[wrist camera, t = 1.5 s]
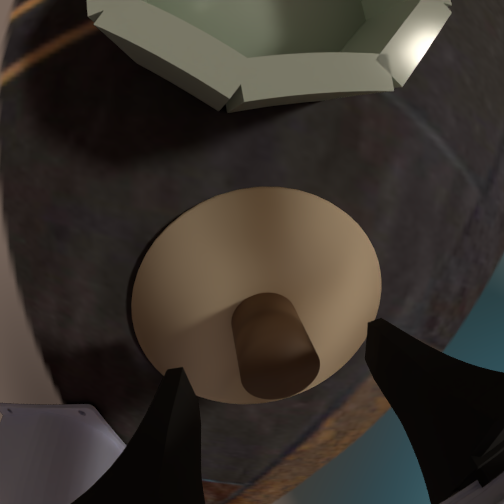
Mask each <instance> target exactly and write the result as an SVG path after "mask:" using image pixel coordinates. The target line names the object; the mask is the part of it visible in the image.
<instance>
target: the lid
mask: <svg viewBox="0 0 504 504" xmlns="http://www.w3.org/2000/svg"><path fill="white" fill-rule="evenodd" d="M380 296H381V273H380V267H379V262H378V259H377V256H376V253H375V250H374V248H373V246H372V244H371V242H370V240H369V239H368V237H367V235H366V234H365V233H364V231H363V230H362V229H361V227H360V226H359V225H358V224H357V223H356V222H355V221H354V220H353V219H352V218H351V217H350V216H349V215H348V214H347V213H345V212H344V211H342V210H341V209H339V208H338V207H336V206H335V205H333V204H332V203H330V202H328V201H326V200H324V199H322V198H320V197H318V196H316V195H313V194H310V193H307V192H303V191H300V190H296V189H290V188H283V187H252V188H245V189H238V190H234V191H231V192H227V193H224V194H220V195H217V196H215V197H213V198H210V199H208V200H206V201H203V202H201V203H199V204H198V205H196V206H194V207H193V208H191V209H189V210H188V211H186V212H184V213H183V214H182V215H180V216H179V217H178V218H177V219H176V220H174V221H173V222H172V223H171V224H169V225H168V226H167V227H166V229H165V230H164V231H163V232H162V233H161V234H160V235H159V236H158V237H157V238H156V240H155V241H154V243H153V244H152V246H151V247H150V249H149V250H148V252H147V253H146V255H145V257H144V259H143V261H142V264H141V266H140V268H139V270H138V273H137V276H136V280H135V283H134V287H133V293H132V302H131V309H132V321H133V326H134V330H135V334H136V336H137V339H138V342H139V344H140V346H141V348H142V350H143V351H144V353H145V355H146V357H147V358H148V359H149V361H150V362H151V363H152V364H153V366H154V367H155V368H156V369H157V370H158V371H159V372H160V373H161V374H162V375H163V376H164V375H165V372H166V371H167V369H172V368H179V367H183V368H184V371H185V373H186V375H187V377H188V379H189V382H190V384H191V386H192V388H193V390H194V392H195V394H196V395H197V396H199V397H202V398H206V399H209V400H213V401H218V402H223V403H232V404H257V403H266V402H271V401H276V400H281V399H284V398H287V397H291V396H294V395H296V394H299V393H301V392H304V391H306V390H308V389H310V388H312V387H314V386H316V385H318V384H319V383H321V382H322V381H324V380H326V379H327V378H329V377H330V376H331V375H333V374H334V373H335V372H336V371H338V370H339V369H340V368H341V367H342V366H343V365H344V364H345V363H346V362H347V361H349V359H350V358H351V357H352V356H353V355H354V354H355V353H356V351H357V350H358V349H359V347H360V346H361V345H362V343H363V342H364V340H365V339H366V337H367V326H368V322H371V321H374V320H375V317H376V315H377V311H378V307H379V303H380Z"/></svg>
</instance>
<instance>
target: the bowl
mask: <svg viewBox="0 0 504 504" xmlns="http://www.w3.org/2000/svg"><path fill="white" fill-rule="evenodd" d="M451 5H452V4H451V1H450V0H87V13H88V17H89V18H90V19H91V20H92V21H93V22H94V24H93V25H95V26H96V27H97V28H98V29H99V30H100V31H101V32H103V33H104V34H105V35H106V36H107V37H108V38H109V39H110V40H112V41H113V42H114V43H115V44H116V45H117V46H118V47H119V48H120V49H122V50H123V51H124V52H125V53H126V54H127V55H128V56H129V57H130V58H131V59H132V60H133V61H135V62H136V63H137V64H139V65H141V66H143V67H144V68H146V69H148V70H150V71H152V72H153V73H155V74H157V75H159V76H161V77H162V78H164V79H166V80H168V81H169V82H171V83H173V84H175V85H176V86H178V87H180V88H181V89H183V90H185V91H186V92H188V93H190V94H191V95H193V96H195V97H196V98H198V99H200V100H201V101H203V102H204V103H206V104H208V105H209V106H211V107H212V108H214V109H215V110H217V111H220V110H221V109H222V107H223V106H224V105H225V104H226V109H227V113H232V112H237V111H243V110H249V109H256V108H263V107H270V106H277V105H285V104H294V103H304V102H315V101H325V100H331V99H337V98H343V97H350V96H357V95H364V94H372V93H381V92H390V91H394V88H397V87H403V85H404V84H405V82H406V81H407V79H408V78H409V76H410V75H411V73H412V72H413V70H414V69H415V67H416V66H417V64H418V63H419V61H420V60H421V58H422V57H423V55H424V54H425V52H426V51H427V49H428V48H429V46H430V45H431V43H432V42H433V40H434V39H435V37H436V36H437V34H438V33H439V31H440V30H441V28H442V27H443V25H444V24H445V22H446V20H447V19H448V17H449V16H450V14H451V13H452V12H451V11H450V10H449V9H448V6H451Z"/></svg>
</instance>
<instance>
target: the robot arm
mask: <svg viewBox="0 0 504 504" xmlns="http://www.w3.org/2000/svg"><path fill="white" fill-rule="evenodd" d="M365 360H366V363H367V365H368V367H369V369H370V372H371V374H372V376H373V378H374V380H375V381H376V383H377V385H378V386H379V388H380V389H381V391H382V393H383V394H384V396H385V397H386V399H387V400H388V402H389V403H390V405H391V407H392V408H393V410H394V411H395V413H396V415H397V416H398V418H399V419H400V421H401V423H402V425H403V427H404V429H405V431H406V433H407V436H408V438H409V440H410V442H411V445H412V447H413V449H414V452H415V454H416V457H417V459H418V462H419V465H420V467H421V471H422V473H423V477H424V480H425V483H426V486H427V490H428V494H429V498H430V502H431V504H504V373H503V372H498V371H493V370H489V369H485V368H482V367H478V366H475V365H472V364H468V363H466V362H463V361H461V360H458V359H456V358H453V357H450V356H448V355H446V354H444V353H442V352H440V351H438V350H436V349H434V348H432V347H430V346H428V345H426V344H424V343H423V342H421V341H419V340H417V339H416V338H414V337H412V336H410V335H409V334H407V333H405V332H404V331H402V330H400V329H399V328H397V327H396V326H394V325H392V324H391V323H389V322H387V321H385V320H384V319H382V318H380V319H377V320H374V321H371V322H368V326H367V340H366V353H365ZM0 412H1V413H2V415H3V417H2V420H1V422H0V504H205V500H204V493H203V486H202V478H201V420H200V411H199V403H198V399H197V397H196V394H195V392H194V390H193V388H192V386H191V384H190V382H189V379H188V377H187V375H186V373H185V371H184V368H183V367H179V368H172V369H167V371H166V372H165V375H164V377H163V379H162V382H161V384H160V386H159V388H158V390H157V392H156V395H155V397H154V399H153V401H152V403H151V405H150V407H149V409H148V411H147V413H146V415H145V416H144V418H143V420H142V422H141V423H140V425H139V427H138V429H137V430H136V432H135V434H134V435H133V437H132V439H131V440H130V442H129V443H128V445H127V446H126V445H125V443H124V442H123V441H122V440H121V439H120V438H119V436H118V435H117V434H116V433H115V432H114V431H113V429H112V428H111V427H110V426H109V424H108V423H107V422H106V421H105V420H104V418H103V417H102V416H101V414H100V413H99V412H98V411H97V409H96V408H95V407H94V406H92V405H90V404H62V405H40V404H37V405H36V404H35V405H34V404H11V403H0Z"/></svg>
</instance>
